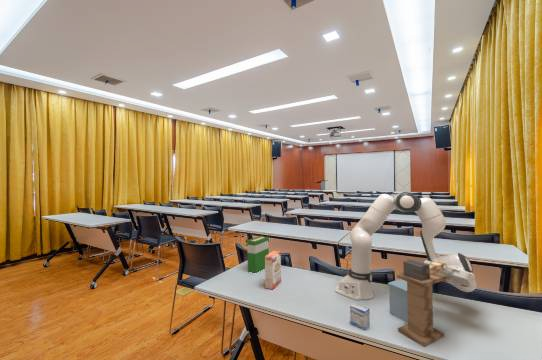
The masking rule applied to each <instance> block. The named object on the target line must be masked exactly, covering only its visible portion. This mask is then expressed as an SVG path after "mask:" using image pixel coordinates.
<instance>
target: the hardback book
mask: <svg viewBox="0 0 542 360" xmlns="http://www.w3.org/2000/svg"><path fill="white" fill-rule="evenodd" d="M246 245H247V246H246V248H247V273H249V272H252V273H251V274H253V273H257V272H259V271H260V272H262V271H264V270H265V256H266V255H268V254H269V253H270V251H269V249H270V247H269V245H270V244H269V236H263V235H260V236H257V237H253V238H250V239H248V240H246ZM263 269H264V270H263ZM261 270H262V271H261ZM260 272H259V273H260ZM257 274H258V273H257Z"/></svg>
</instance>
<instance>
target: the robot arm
mask: <svg viewBox="0 0 542 360" xmlns="http://www.w3.org/2000/svg"><path fill="white" fill-rule="evenodd" d="M394 210H399V211H400V212H404V213H405V212H406V213H407V212H415V214H416V215H417V216H418V218H419V220H420V222H421V227H422V228H421V230H420V233H419V234H420V238H421V242H422V246H423V248H424V252H425V255H426V258H427V260H426V259H425V260H424V261H423V263H427V264H431V263H434V262H438V261H442V262H446V266H445V265H442V267H441V268H442V269H443V270H442V271H439V272H437V273H440V274H443V275H446V276H447V279H446V280H444V281H445V282H446V283H448V284H450V285H452V286H453V287H454V288H456V289H458V290H460V291H462V292H465V293H471V292H473V291H475V290H476V288H477V282H476V280H475V277H476V275H475V274H474V273H473V271H474V270H473V265H472V263H471V261H470V260H469V258H468V257H467V256H466V255H464V254H462V253H460V252H456V253H451V254H447V255H443V256H442V255H441V256H437V253H436V250H435V247H434V243H433V239H434V238H435V237H436V236H438V235H439V234H440V233H441V232H442V231H444V230H445V228H446V225H447V222H446V218H445V216H444V214H443V212H442V211H441V209H440V208H439V206H438V205H437V204H436V202H435V201H434V200H433V199H432V198H431V197H428V196H427V197H425V196H424V197H420V198H419V197H418V196H416V195H415V194H413V193H412V192H408V191H402V192H400V193H398V194H395V195H393V196H392V195H389V194H387V193H382V194H380V195H379V196H377V198H375V199H374V201H373V202H372V203H371V205H370V206H369V208H368V209H367V210H366V212H365V213H364V214H363V217H362V218H361V219H360V220H358V222H357V223H356V224H355V225H354V226H353V228H352V229H351V231H350V232H349V238H350V242H351V251H350V253H351V254H350V255H351V256H350V267H349V269H348V270H347V274H346V275H345V276H343V277H342V278H341V279H340V280H339V283H338V284H337V286H336V287H335V288H334V292H335V293H338V294H339V295H342V296H344V297H347V298H350V299H352V300H354V301H361V300H370V299H371V300H372V299H373V298H375V293H374V289H373V284H372V283H373V282H372V281H373V273H372V263H371V262H372V261H371V260H372V248H373V247H372V245H373V241H372V239H373V238H372V236H373V235H374V233H376V232H377V231H378V230H379V229H380V228H381V227H383V225H384V223H385V222H386V220H387V219H388V217H389V216H390V214H391V213H392V212H393V211H394Z"/></svg>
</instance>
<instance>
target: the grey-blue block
mask: <svg viewBox="0 0 542 360" xmlns="http://www.w3.org/2000/svg"><path fill="white" fill-rule="evenodd" d="M387 286H388V288H389V314H391V315H393V316H394V317H396V318H398V319H400V320H402V321H403V322H404V323H405V322H406V324H408V305H407V281H405V280H402V279H400V278H398V279H396V280H393V281H390V282H388V283H387Z"/></svg>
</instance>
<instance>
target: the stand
mask: <svg viewBox="0 0 542 360" xmlns="http://www.w3.org/2000/svg"><path fill="white" fill-rule="evenodd" d="M396 278H397V279H402V280H405V281H407V305H408V323H406V324H405V325H402V326H398V327H397V332H398V333H400V334H401V335H403V336H405V337H406V338H408V339H410V340H412V341H414V342H415V343H417V344H419V345H420V346H422V347H424V348H425V347H427V346H428V345H431V344H432V343H434V342H436V341H438V340H440V339H442V338H445V333H444V332H442V331H441V330H439V329H437V328H435V327H434V306H433V305H434V302H433V301H434V299H433V285H434V284H437V283H439V282H442V281H445V280H446V279H447V276H446V275H443V274H440V273H437V272H436V273H433V274H430V278H429V279H426V280H423V281H420V280H417V279H414V278H411V277H408V276H406V275H404V271H403V272H400V273H397V274H396Z"/></svg>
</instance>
